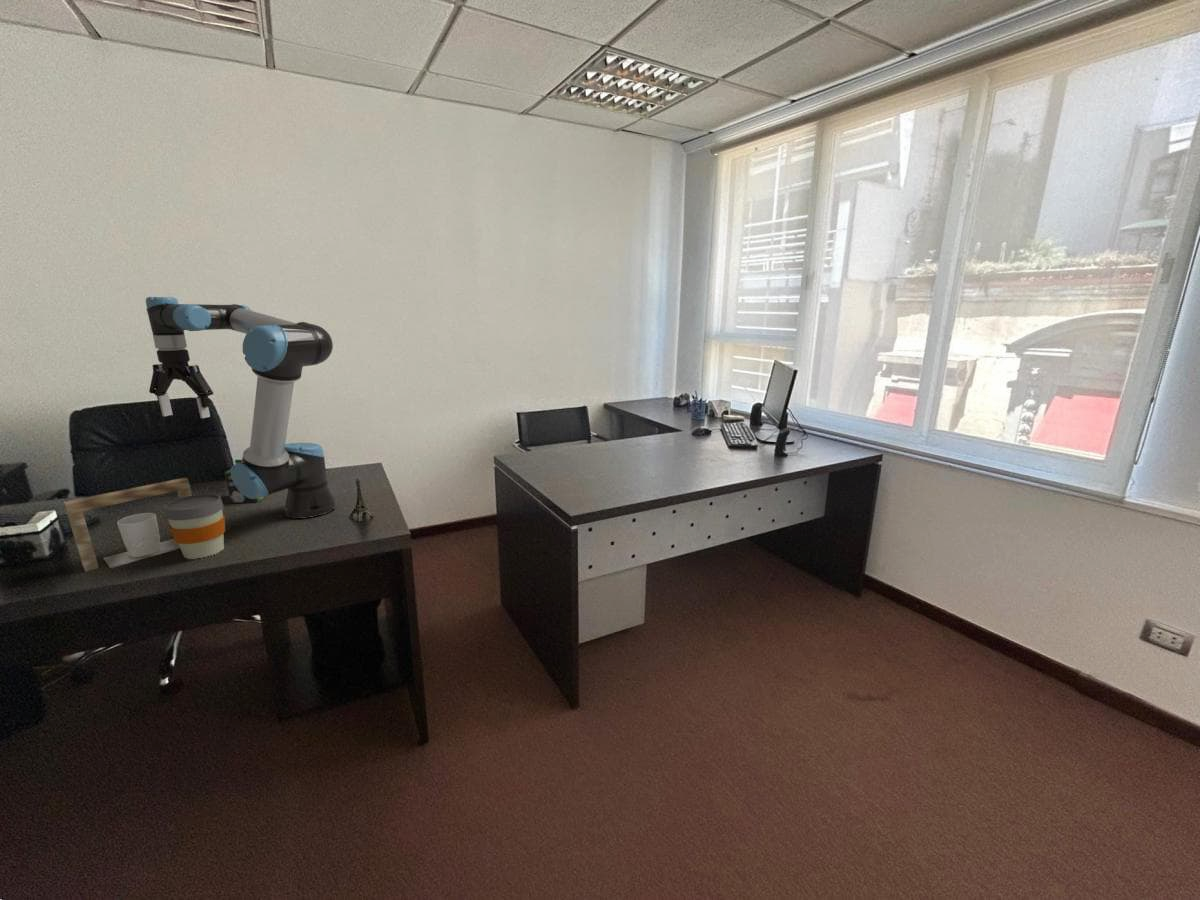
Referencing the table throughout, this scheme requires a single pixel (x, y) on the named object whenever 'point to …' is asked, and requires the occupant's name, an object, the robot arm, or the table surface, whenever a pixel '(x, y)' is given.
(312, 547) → the table surface
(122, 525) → the white cup
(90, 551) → the bridge
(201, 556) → the reusable coffee cup
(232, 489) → the chalk box
